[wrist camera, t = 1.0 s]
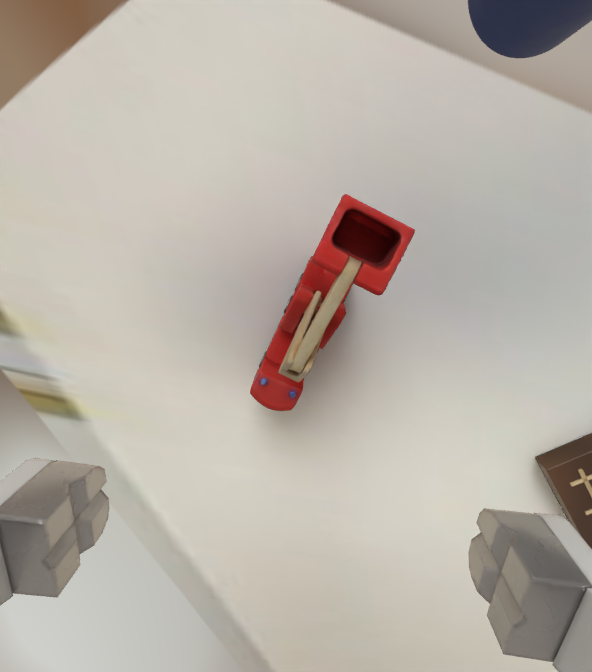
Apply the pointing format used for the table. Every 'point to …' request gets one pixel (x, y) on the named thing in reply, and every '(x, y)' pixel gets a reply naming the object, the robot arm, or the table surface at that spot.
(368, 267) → the toy fire truck
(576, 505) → the board
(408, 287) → the table surface
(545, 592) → the robot arm
